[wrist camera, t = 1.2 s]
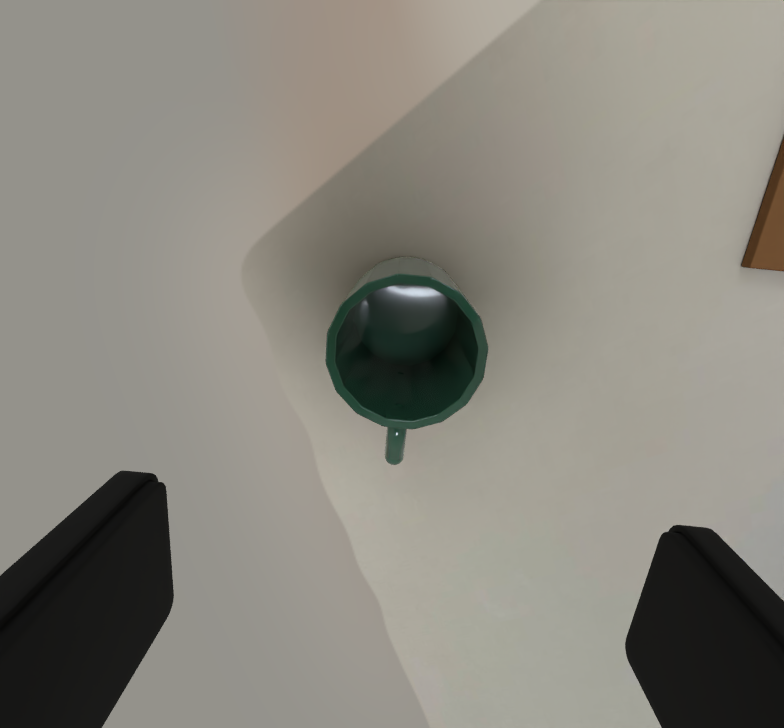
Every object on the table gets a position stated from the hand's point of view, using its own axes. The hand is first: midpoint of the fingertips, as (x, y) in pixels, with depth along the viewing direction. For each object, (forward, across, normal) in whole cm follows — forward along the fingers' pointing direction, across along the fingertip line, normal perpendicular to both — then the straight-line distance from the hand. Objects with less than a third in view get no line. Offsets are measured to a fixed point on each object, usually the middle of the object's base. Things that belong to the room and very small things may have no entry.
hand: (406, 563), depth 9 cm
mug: (+22, 0, +1) cm, 22 cm away
